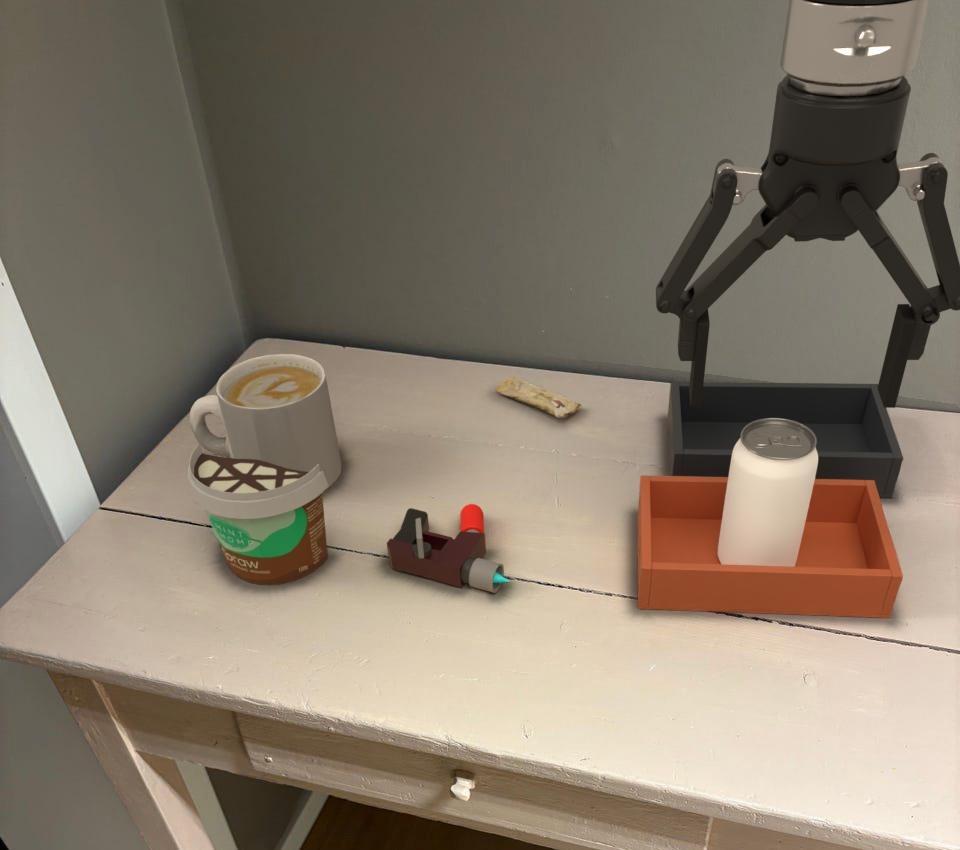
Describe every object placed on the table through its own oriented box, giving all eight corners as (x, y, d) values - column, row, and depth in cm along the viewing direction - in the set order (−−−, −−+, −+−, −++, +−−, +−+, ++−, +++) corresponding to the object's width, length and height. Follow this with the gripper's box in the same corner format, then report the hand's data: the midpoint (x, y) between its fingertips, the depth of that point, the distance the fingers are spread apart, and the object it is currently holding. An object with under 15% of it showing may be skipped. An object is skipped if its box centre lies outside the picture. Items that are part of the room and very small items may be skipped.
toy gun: (502, 605, 81) (500, 559, 78) (375, 571, 85) (367, 526, 82) (546, 537, 88) (546, 491, 84) (425, 508, 92) (420, 463, 88)
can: (715, 534, 86) (732, 413, 78) (792, 537, 85) (818, 415, 77) (717, 583, 82) (736, 460, 73) (799, 587, 81) (827, 463, 72)
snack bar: (493, 389, 105) (511, 370, 106) (497, 399, 106) (515, 380, 107) (563, 418, 100) (581, 398, 100) (566, 428, 101) (584, 408, 102)
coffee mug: (356, 449, 99) (341, 358, 92) (318, 508, 92) (299, 414, 85) (235, 436, 102) (211, 346, 95) (190, 491, 95) (161, 399, 88)
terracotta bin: (863, 520, 87) (874, 479, 84) (890, 618, 78) (903, 576, 75) (637, 514, 89) (640, 474, 86) (638, 608, 80) (641, 568, 77)
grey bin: (868, 422, 98) (878, 383, 95) (891, 498, 89) (903, 457, 86) (667, 419, 100) (670, 381, 97) (670, 493, 91) (674, 453, 88)
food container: (184, 578, 86) (152, 483, 79) (221, 536, 90) (193, 442, 83) (311, 606, 82) (288, 509, 76) (343, 561, 87) (324, 464, 80)
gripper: (629, 103, 57) (617, 424, 72) (1094, 87, 54) (981, 426, 69) (629, 66, 62) (618, 372, 77) (1052, 49, 59) (956, 371, 74)
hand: (789, 398), depth 73 cm, fingers open, 13 cm apart
